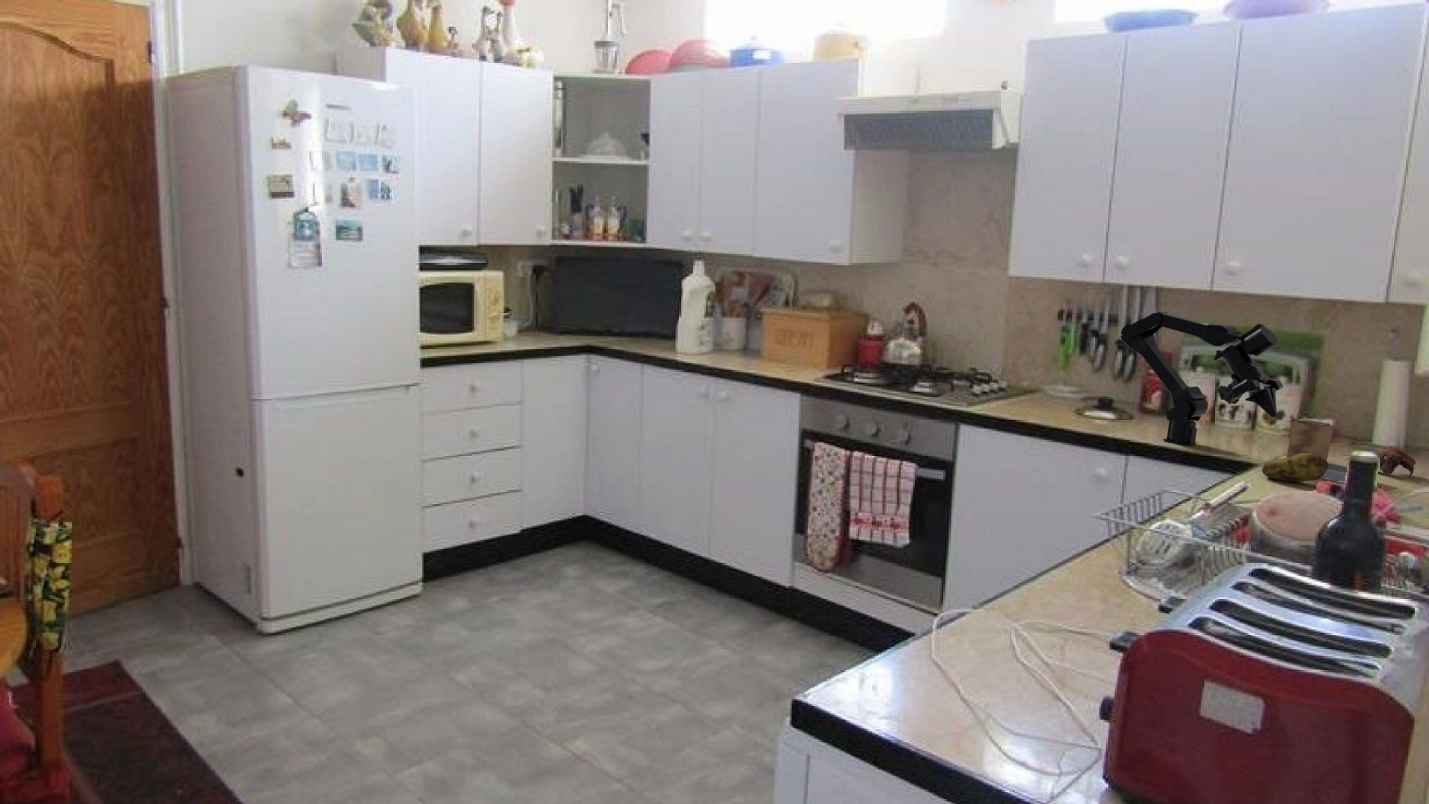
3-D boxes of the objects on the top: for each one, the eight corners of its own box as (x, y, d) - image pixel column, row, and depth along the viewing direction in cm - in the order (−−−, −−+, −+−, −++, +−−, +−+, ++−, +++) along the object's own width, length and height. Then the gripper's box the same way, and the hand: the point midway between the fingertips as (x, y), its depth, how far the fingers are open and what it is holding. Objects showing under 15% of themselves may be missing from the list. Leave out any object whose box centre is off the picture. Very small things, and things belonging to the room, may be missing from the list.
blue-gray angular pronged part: (1272, 467, 260) (1276, 440, 259) (1292, 464, 267) (1296, 437, 265) (1350, 485, 246) (1355, 457, 245) (1369, 481, 252) (1374, 453, 251)
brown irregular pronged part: (1361, 469, 269) (1383, 444, 267) (1397, 491, 265) (1419, 466, 263) (1365, 465, 259) (1387, 439, 257) (1401, 488, 254) (1424, 462, 253)
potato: (1275, 475, 252) (1280, 443, 250) (1329, 488, 241) (1335, 455, 240) (1256, 478, 247) (1262, 445, 246) (1310, 491, 237) (1316, 458, 235)
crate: (1284, 467, 260) (1292, 419, 258) (1295, 465, 264) (1303, 418, 262) (1313, 474, 255) (1322, 425, 252) (1324, 472, 258) (1333, 424, 256)
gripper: (1230, 382, 282) (1261, 431, 276) (1199, 381, 270) (1231, 433, 264) (1267, 360, 275) (1300, 410, 269) (1237, 358, 263) (1270, 411, 256)
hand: (1274, 416), depth 265 cm, fingers closed
